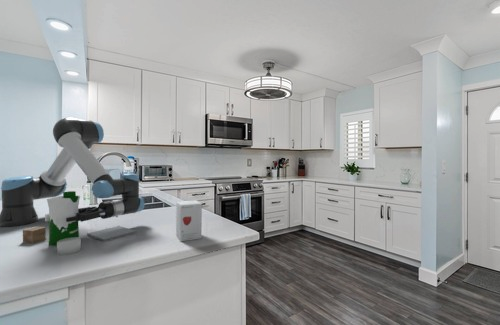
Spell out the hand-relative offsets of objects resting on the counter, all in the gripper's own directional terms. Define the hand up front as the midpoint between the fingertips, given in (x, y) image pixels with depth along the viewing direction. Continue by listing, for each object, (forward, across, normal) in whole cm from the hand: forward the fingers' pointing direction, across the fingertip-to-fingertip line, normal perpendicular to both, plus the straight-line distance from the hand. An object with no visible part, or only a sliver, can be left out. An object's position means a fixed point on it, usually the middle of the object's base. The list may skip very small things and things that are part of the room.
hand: (50, 219), depth 94 cm
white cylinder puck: (-2, -12, -10) cm, 16 cm away
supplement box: (-37, -36, -10) cm, 52 cm away
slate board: (-21, -5, -10) cm, 23 cm away
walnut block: (+1, +12, -10) cm, 16 cm away
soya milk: (-5, 0, -10) cm, 11 cm away
